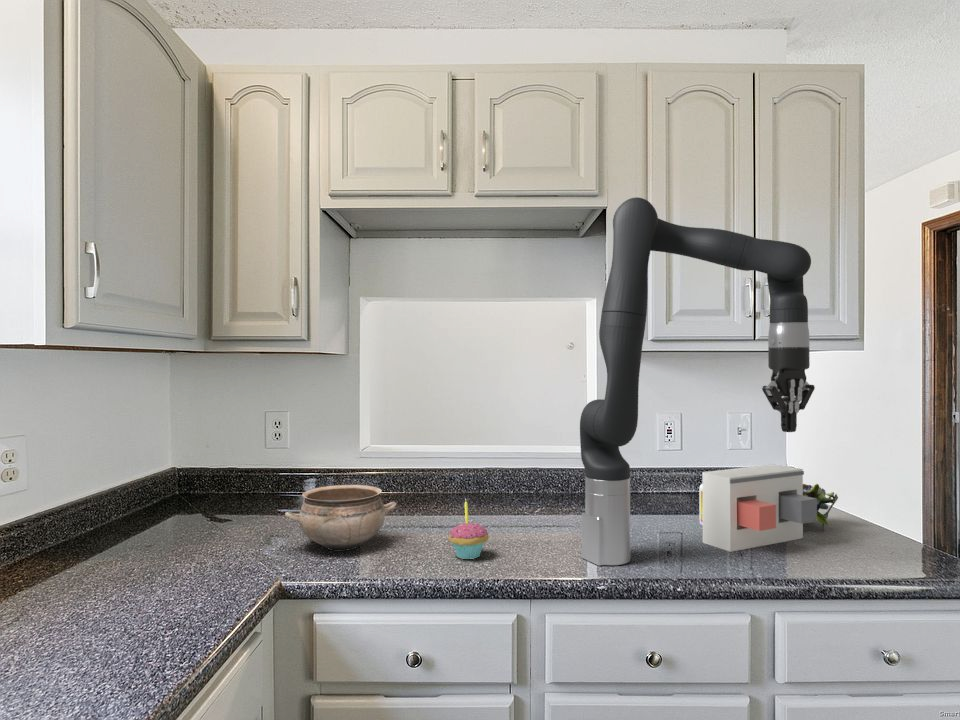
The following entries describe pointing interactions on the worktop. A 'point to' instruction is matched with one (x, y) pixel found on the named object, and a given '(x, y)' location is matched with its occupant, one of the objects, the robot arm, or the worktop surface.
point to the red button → (756, 515)
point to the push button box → (746, 485)
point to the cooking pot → (341, 515)
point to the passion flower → (820, 500)
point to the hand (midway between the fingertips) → (788, 431)
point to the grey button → (798, 508)
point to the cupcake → (468, 538)
